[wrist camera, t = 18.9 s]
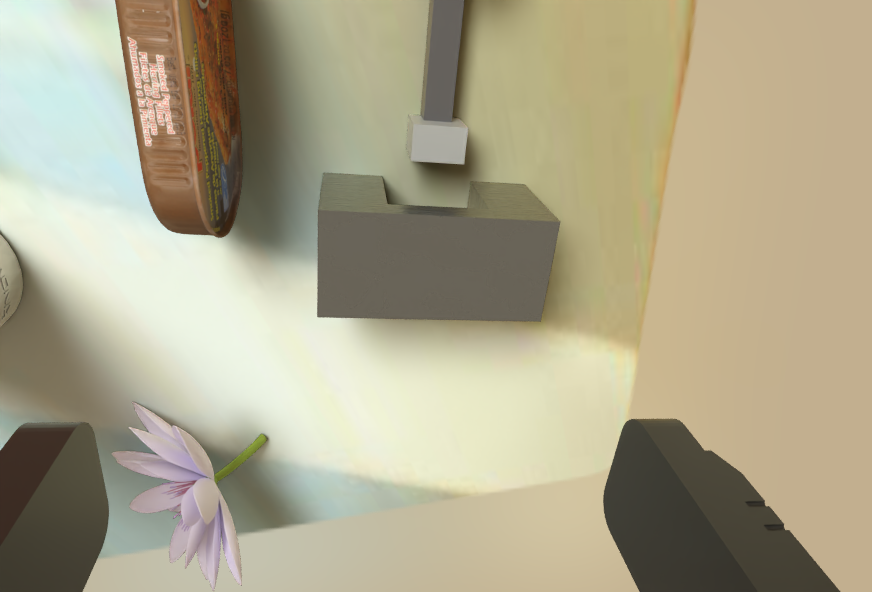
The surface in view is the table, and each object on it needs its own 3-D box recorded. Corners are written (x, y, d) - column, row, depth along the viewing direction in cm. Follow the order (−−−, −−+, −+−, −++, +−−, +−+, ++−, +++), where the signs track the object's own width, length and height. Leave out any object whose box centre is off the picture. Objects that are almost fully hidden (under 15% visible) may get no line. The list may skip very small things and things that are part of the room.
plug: (397, 148, 35) (403, 164, 31) (419, -184, 28) (430, -211, 24) (463, 152, 36) (476, 169, 32) (500, -171, 29) (522, -195, 25)
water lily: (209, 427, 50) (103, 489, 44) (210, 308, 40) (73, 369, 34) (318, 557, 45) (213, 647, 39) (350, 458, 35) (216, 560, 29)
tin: (246, 208, 35) (220, 264, 28) (192, 206, 35) (149, 263, 27) (226, -86, 29) (183, -116, 21) (157, -93, 28) (90, -126, 21)
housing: (322, 264, 38) (317, 317, 31) (323, 172, 35) (318, 209, 29) (510, 271, 40) (540, 321, 33) (524, 184, 37) (560, 221, 31)
